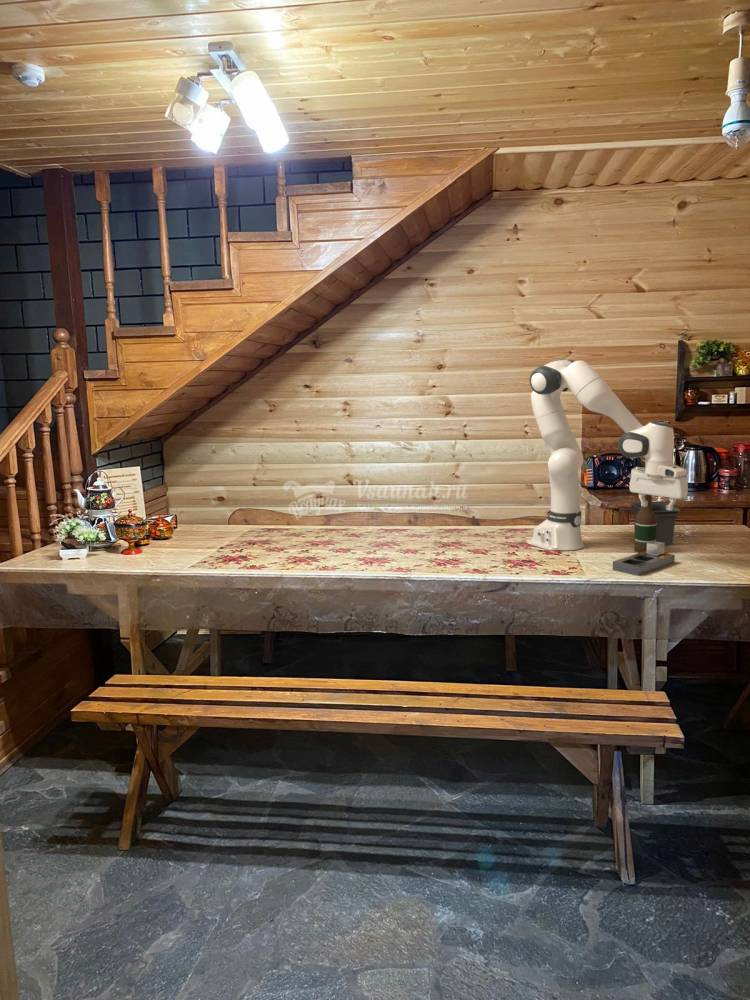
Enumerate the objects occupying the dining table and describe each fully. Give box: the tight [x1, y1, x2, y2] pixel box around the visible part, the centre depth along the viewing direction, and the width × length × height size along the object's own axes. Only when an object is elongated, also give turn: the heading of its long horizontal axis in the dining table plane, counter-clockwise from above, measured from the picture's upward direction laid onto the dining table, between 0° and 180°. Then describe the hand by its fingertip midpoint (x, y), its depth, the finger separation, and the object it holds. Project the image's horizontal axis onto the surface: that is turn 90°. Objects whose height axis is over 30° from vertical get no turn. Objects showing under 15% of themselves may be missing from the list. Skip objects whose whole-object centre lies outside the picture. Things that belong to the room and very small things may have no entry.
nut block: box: [646, 541, 665, 557], centre depth 258 cm, size 4×4×7 cm
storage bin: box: [629, 501, 681, 547], centre depth 289 cm, size 21×16×14 cm
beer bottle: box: [633, 494, 657, 554], centre depth 273 cm, size 8×8×24 cm
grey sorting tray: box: [612, 551, 676, 577], centre depth 253 cm, size 10×22×4 cm, turn 128°
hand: (656, 508), depth 254 cm, fingers open, 8 cm apart
